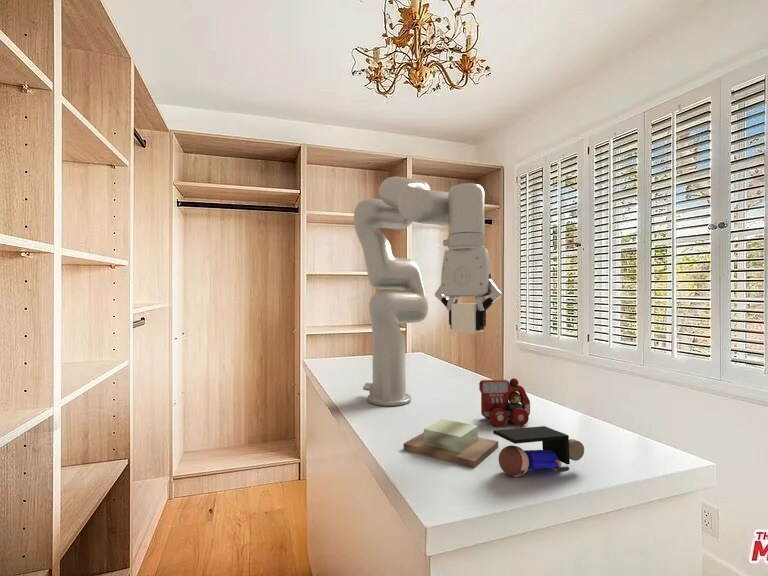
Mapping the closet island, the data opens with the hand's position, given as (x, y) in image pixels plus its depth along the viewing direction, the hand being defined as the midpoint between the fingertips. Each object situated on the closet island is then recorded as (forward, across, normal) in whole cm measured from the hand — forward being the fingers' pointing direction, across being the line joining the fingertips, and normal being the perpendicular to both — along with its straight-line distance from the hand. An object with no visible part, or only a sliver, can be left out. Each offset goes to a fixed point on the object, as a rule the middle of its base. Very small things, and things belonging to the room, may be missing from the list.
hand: (467, 328), depth 89 cm
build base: (+24, -1, -6) cm, 24 cm away
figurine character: (+24, +16, -7) cm, 30 cm away
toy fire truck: (+24, +3, +17) cm, 29 cm away
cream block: (+1, 0, 0) cm, 1 cm away
